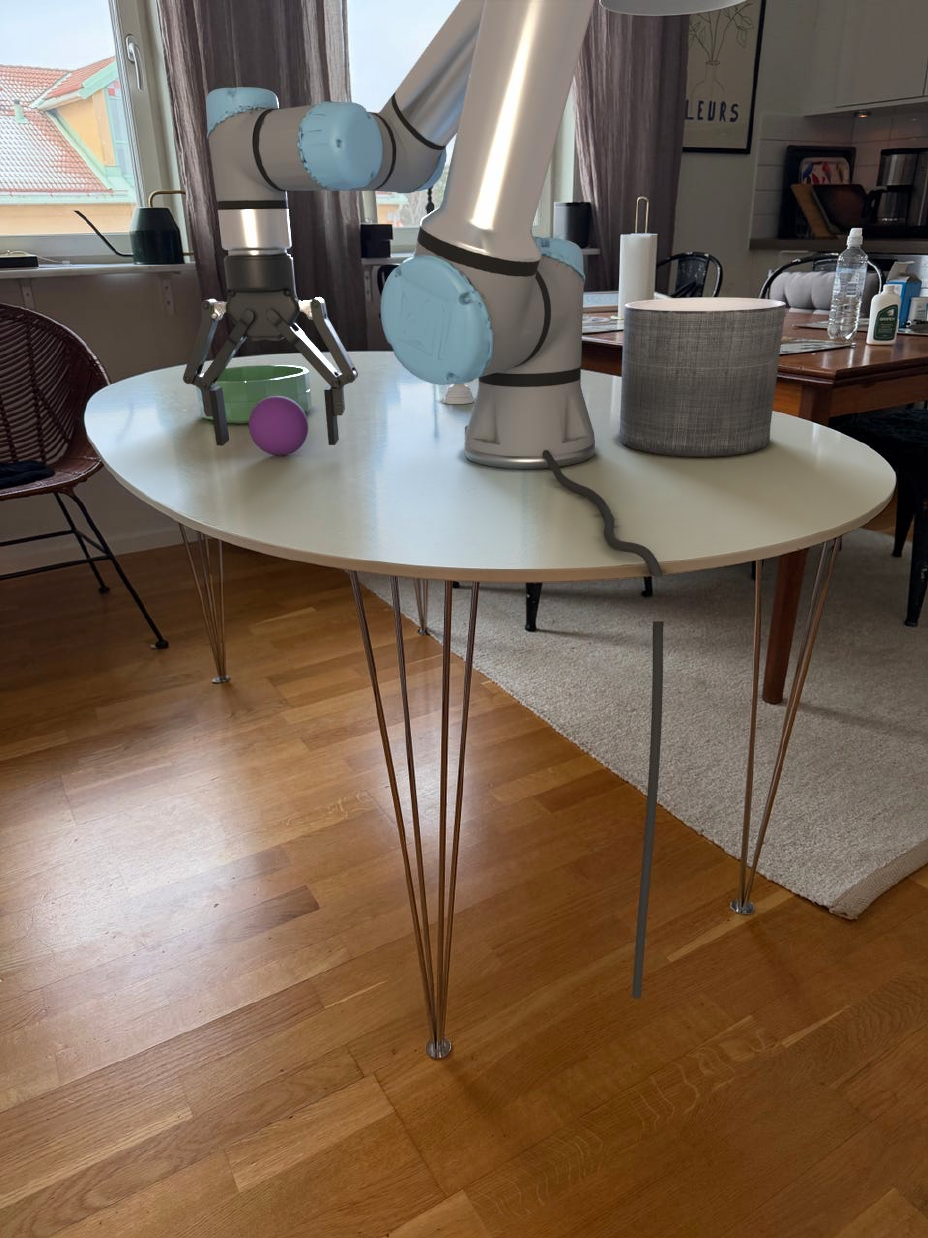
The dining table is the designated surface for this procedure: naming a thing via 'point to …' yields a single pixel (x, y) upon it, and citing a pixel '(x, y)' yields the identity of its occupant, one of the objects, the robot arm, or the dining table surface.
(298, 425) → the ball
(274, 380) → the bowl
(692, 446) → the planter
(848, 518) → the dining table surface
